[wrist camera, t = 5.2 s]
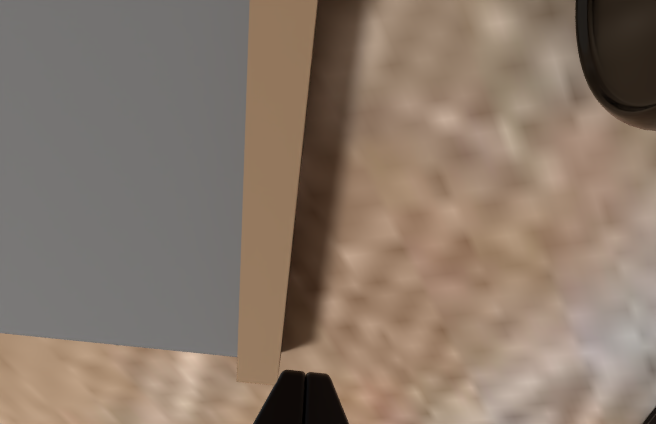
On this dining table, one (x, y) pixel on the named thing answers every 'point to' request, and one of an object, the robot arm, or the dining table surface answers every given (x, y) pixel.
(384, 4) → the dining table surface
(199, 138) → the mat
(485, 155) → the dining table surface
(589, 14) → the supplement bottle
